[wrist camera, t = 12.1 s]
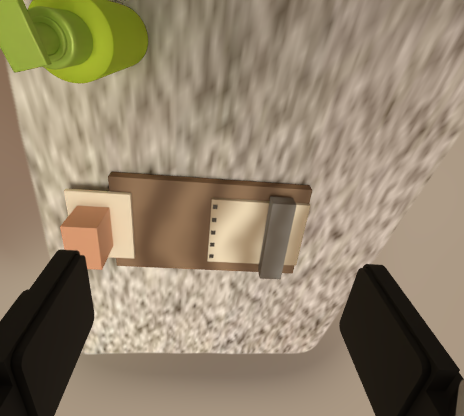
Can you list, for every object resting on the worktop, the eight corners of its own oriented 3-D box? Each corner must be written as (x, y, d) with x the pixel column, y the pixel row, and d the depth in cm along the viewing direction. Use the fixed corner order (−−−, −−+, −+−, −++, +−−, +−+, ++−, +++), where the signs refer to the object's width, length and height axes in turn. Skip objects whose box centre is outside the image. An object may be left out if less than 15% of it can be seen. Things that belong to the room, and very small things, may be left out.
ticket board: (309, 185, 43) (317, 199, 39) (290, 267, 50) (296, 285, 46) (111, 171, 41) (101, 185, 37) (119, 259, 47) (111, 277, 44)
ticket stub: (131, 192, 41) (119, 214, 36) (135, 255, 45) (125, 282, 40) (65, 188, 40) (44, 210, 35) (77, 253, 45) (59, 280, 40)
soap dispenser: (133, -15, 31) (30, -75, 14) (155, 60, 35) (94, 88, 17) (77, -1, 32) (-93, -44, 14) (103, 72, 35) (-8, 110, 18)
